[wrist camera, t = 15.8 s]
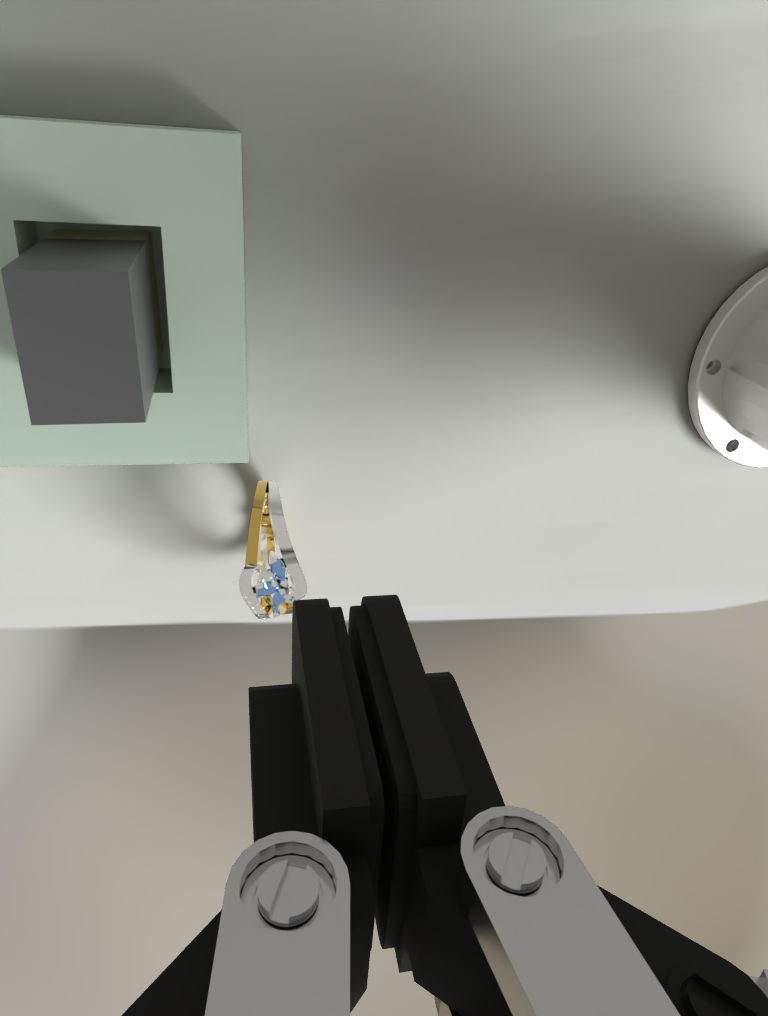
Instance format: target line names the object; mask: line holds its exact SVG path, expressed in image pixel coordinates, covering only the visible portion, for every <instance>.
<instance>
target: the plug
mask: <svg viewBox="0 0 768 1016" xmlns="http://www.w3.org/2000/svg"><path fill="white" fill-rule="evenodd" d="M1 273H2V279H3V284H4V289H5V294H6V299H7V304H8V309H9V314H10V319H11V324H12V329H13V335H14V340H15V345H16V350H17V355H18V360H19V365H20V370H21V375H22V380H23V385H24V391H25V396H26V401H27V406H28V411H29V416H30V421H31V425H65V424H104V423H144V422H146V419H147V415H148V411H149V407H150V403H151V399H152V395H153V391H154V387H155V383H156V379H157V375H158V371H159V368H160V364H161V360H162V356H163V344H162V334H161V324H160V314H159V304H158V293H157V283H156V273H155V263H154V253H153V243H152V233H151V231H113V230H67V229H55V230H54V231H53V232H51V233H50V234H48V235H47V236H46V237H44V238H43V239H42V240H40V241H39V242H38V243H36V244H35V245H33V246H32V247H31V248H29V249H28V250H27V251H25V252H24V253H23V254H21V255H20V256H18V257H17V258H16V259H14V260H13V261H12V262H10V263H9V264H7V265H6V266H5V267H3V268H2V269H1Z"/></svg>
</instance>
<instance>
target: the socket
mask: <svg viewBox="0 0 768 1016" xmlns="http://www.w3.org/2000/svg"><path fill="white" fill-rule="evenodd" d="M55 229H67V230H113V231H151V233H152V243H153V253H154V263H155V273H156V283H157V293H158V304H159V314H160V324H161V334H162V344H163V356H162V360H161V364H160V368H159V371H158V375H157V379H156V383H155V387H154V391H153V395H152V399H151V403H150V407H149V411H148V415H147V419H146V422H144V423H104V424H65V425H31V421H30V416H29V411H28V406H27V401H26V396H25V391H24V385H23V380H22V375H21V370H20V365H19V360H18V355H17V350H16V345H15V340H14V335H13V329H12V324H11V319H10V314H9V309H8V304H7V299H6V294H5V289H4V284H3V279H2V273H1V269H2V268H3V267H5V266H6V265H7V264H9V263H10V262H12V261H13V260H14V259H16V258H17V257H18V256H20V255H21V254H23V253H24V252H25V251H27V250H28V249H29V248H31V247H32V246H33V245H35V244H36V243H38V242H39V241H40V240H42V239H43V238H44V237H46V236H47V235H48V234H50V233H51V232H53V231H54V230H55ZM204 463H249V455H248V411H247V367H246V322H245V278H244V234H243V190H242V146H241V133H240V131H228V130H214V129H200V128H185V127H171V126H157V125H142V124H128V123H114V122H99V121H85V120H71V119H56V118H42V117H28V116H13V115H0V467H36V466H92V465H148V464H204Z"/></svg>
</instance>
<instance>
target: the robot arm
mask: <svg viewBox="0 0 768 1016" xmlns="http://www.w3.org/2000/svg"><path fill="white" fill-rule="evenodd" d="M688 404H689V410H690V413H691V417H692V421H693V424H694V425H695V427H696V429H697V431H698V433H699V435H700V436H701V438H702V439H703V440H704V441H705V442H706V443H707V444H708V445H709V446H710V447H711V448H712V449H713V450H715V451H716V452H718V453H719V454H720V455H722V456H723V457H725V458H727V459H729V460H731V461H733V462H735V463H738V464H740V465H746V466H751V467H768V267H766V268H764V269H763V270H761V271H759V272H757V273H756V274H755V275H753V276H752V277H751V278H750V279H749V280H747V281H746V282H745V283H744V284H742V285H741V286H740V287H739V288H738V289H737V290H736V291H735V292H734V293H733V294H732V295H731V296H730V297H729V298H728V299H727V300H726V301H725V303H724V304H723V305H722V306H721V307H720V309H719V310H718V311H717V313H716V314H715V316H714V317H713V319H712V320H711V322H710V323H709V324H708V326H707V328H706V330H705V332H704V334H703V336H702V338H701V340H700V342H699V344H698V346H697V349H696V352H695V355H694V358H693V361H692V364H691V368H690V375H689V382H688ZM348 630H349V631H348V633H347V629H346V625H345V620H344V616H343V612H342V608H341V607H330V606H329V602H328V599H310V600H294V601H293V618H292V684H286V685H274V686H261V687H249V716H250V717H249V718H250V751H251V780H252V807H253V834H254V843H253V844H252V845H251V846H249V847H248V848H247V849H245V850H244V851H243V852H242V853H241V855H240V856H239V857H238V859H237V860H236V862H235V863H234V864H233V866H232V868H231V871H230V874H229V877H228V880H227V883H226V888H225V895H224V901H223V906H222V910H221V911H220V912H219V913H218V914H217V915H216V916H215V917H214V918H213V919H212V921H211V922H210V923H209V924H208V925H207V926H206V927H205V928H204V929H203V930H202V931H201V932H200V933H199V934H198V935H197V936H196V937H195V938H194V940H193V941H192V942H191V943H190V944H189V945H188V946H187V947H186V948H185V949H184V950H183V951H182V952H181V953H180V954H179V955H178V957H177V958H176V959H175V960H174V961H173V962H172V963H171V964H170V965H169V966H168V967H167V968H166V969H165V970H164V971H163V972H162V973H161V974H160V976H159V977H158V978H157V979H156V980H155V981H154V982H153V983H152V984H151V985H150V986H149V987H148V988H147V989H146V990H145V991H144V993H143V994H142V995H141V996H140V997H139V998H138V999H137V1000H136V1001H135V1002H134V1003H133V1004H132V1005H131V1006H130V1007H129V1008H128V1009H127V1011H126V1012H125V1013H124V1014H123V1015H122V1016H350V1013H351V1011H352V1010H353V1008H354V1007H355V1005H356V1004H357V1002H358V1001H359V999H360V998H361V997H362V995H363V994H364V992H365V991H366V989H367V978H368V969H369V959H370V951H371V948H372V939H373V938H372V937H373V929H374V919H376V924H377V930H378V935H379V940H380V944H381V947H382V949H387V948H393V947H394V948H395V952H396V958H397V963H398V968H399V973H400V972H406V971H412V972H413V977H414V981H415V982H416V983H417V984H419V985H420V986H422V987H423V988H424V989H426V990H427V991H429V992H430V993H431V994H433V995H434V996H435V1004H436V1008H437V1012H438V1016H768V970H765V969H764V970H763V971H762V973H761V975H760V977H750V976H748V975H747V974H745V973H744V972H743V971H741V970H740V969H738V968H737V967H736V966H734V965H733V964H732V963H730V962H729V961H727V960H725V959H723V958H722V957H720V956H718V955H717V954H715V953H713V952H711V951H710V950H708V949H706V948H705V947H703V946H701V945H699V944H698V943H696V942H694V941H692V940H691V939H689V938H687V937H685V936H684V935H682V934H680V933H678V932H677V931H675V930H673V929H672V928H670V927H668V926H666V925H665V924H663V923H661V922H660V921H658V920H656V919H654V918H652V917H651V916H649V915H648V914H646V913H644V912H642V911H641V910H639V909H637V908H635V907H634V906H632V905H630V904H629V903H627V902H625V901H623V900H622V899H620V898H618V897H617V896H615V895H613V894H611V893H610V892H608V891H606V890H604V889H603V888H601V887H599V886H598V885H597V884H596V883H595V881H594V880H593V878H592V877H591V875H590V873H589V872H588V870H587V869H586V867H585V866H584V864H583V862H582V861H581V860H580V858H579V856H578V855H577V853H576V852H575V850H574V848H573V847H572V845H571V844H570V842H569V841H568V839H567V838H566V837H565V836H564V834H563V833H562V832H561V831H560V830H559V829H558V827H557V826H556V825H554V824H553V823H552V822H550V821H549V820H547V819H546V818H545V817H543V816H542V815H540V814H537V813H534V812H533V811H530V810H528V809H525V808H519V807H513V806H505V804H504V802H503V799H502V796H501V794H500V791H499V789H498V786H497V784H496V781H495V779H494V776H493V774H492V771H491V769H490V766H489V764H488V761H487V759H486V756H485V754H484V751H483V749H482V746H481V744H480V741H479V739H478V736H477V734H476V731H475V729H474V726H473V724H472V721H471V718H470V716H469V713H468V711H467V709H466V706H465V703H464V701H463V698H462V696H461V693H460V691H459V688H458V686H457V683H456V681H455V679H454V677H453V675H452V674H450V673H449V672H443V673H428V674H425V672H424V669H423V666H422V663H421V660H420V657H419V654H418V652H417V649H416V646H415V643H414V640H413V638H412V635H411V632H410V629H409V626H408V623H407V620H406V617H405V615H404V612H403V609H402V606H401V603H400V600H399V598H398V596H397V595H383V596H365V597H363V598H362V602H361V606H351V607H350V613H349V629H348Z"/></svg>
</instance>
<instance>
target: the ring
mask: <svg viewBox="0 0 768 1016" xmlns="http://www.w3.org/2000/svg"><path fill="white" fill-rule="evenodd" d="M274 538H275V541H276V545H277V548H278V550H279V553H280V556H281V557H279V556H278V555H277V553H276V552H275V549H274ZM286 570H287V572H288V574H289V576H290V579H291V582H292V586H293V587H289V585H288V579H287V573H286ZM256 572H259V575H258V576H257V585H256V586H255V583H254V574H255V573H256ZM239 585H240V591H241V594H242V597H243V599H244V600H245V602H246V604H247V605H248V607H249V608H250V609H251V611H252V612H253V613H254V614H255V616H256V617H257V618H258V619H267V618H272V612H273V617H274V618H275V617H277V616H280V615H285V614H292V613H293V601H294V600H299V599H301V598H303V597H305V595H306V593H307V583H306V580H305V577H304V574H303V572H302V570H301V567H300V565H299V563H298V560H297V558H296V555H295V553H294V550H293V547H292V545H291V542H290V538H289V535H288V531H287V528H286V523H285V519H284V514H283V509H282V503H281V496H280V489H279V484H278V481H268V480H259V482H258V484H257V488H256V492H255V496H254V501H253V507H252V512H251V519H250V525H249V533H248V541H247V551H246V563H245V568H244V569H243V570H242V572H241V575H240V581H239Z"/></svg>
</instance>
